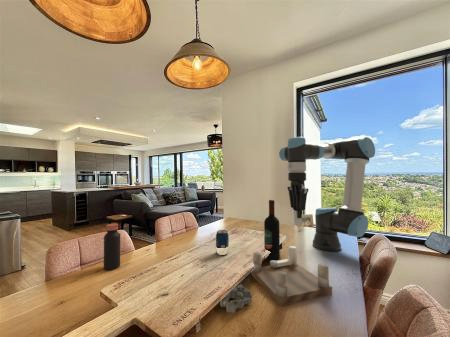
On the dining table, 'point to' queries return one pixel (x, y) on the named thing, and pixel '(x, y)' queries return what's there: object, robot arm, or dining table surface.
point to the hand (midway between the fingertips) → (297, 224)
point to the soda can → (222, 239)
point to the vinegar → (112, 247)
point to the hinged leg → (291, 261)
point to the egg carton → (239, 301)
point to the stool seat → (291, 281)
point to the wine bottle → (272, 234)
